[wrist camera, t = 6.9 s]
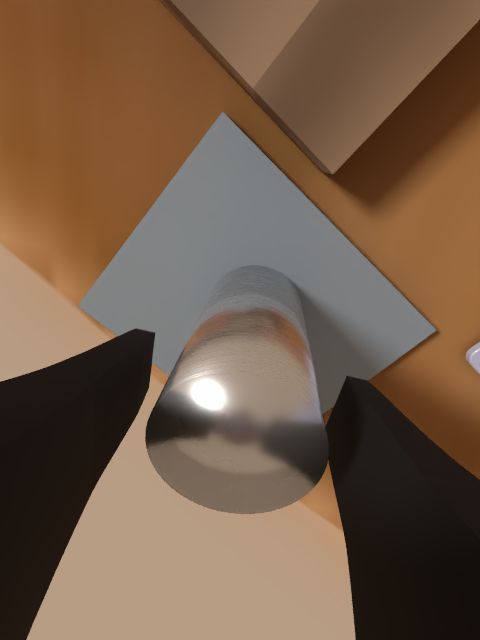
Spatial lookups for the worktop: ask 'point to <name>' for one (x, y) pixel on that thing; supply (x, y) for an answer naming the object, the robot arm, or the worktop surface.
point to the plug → (242, 401)
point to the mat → (252, 249)
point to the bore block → (327, 59)
